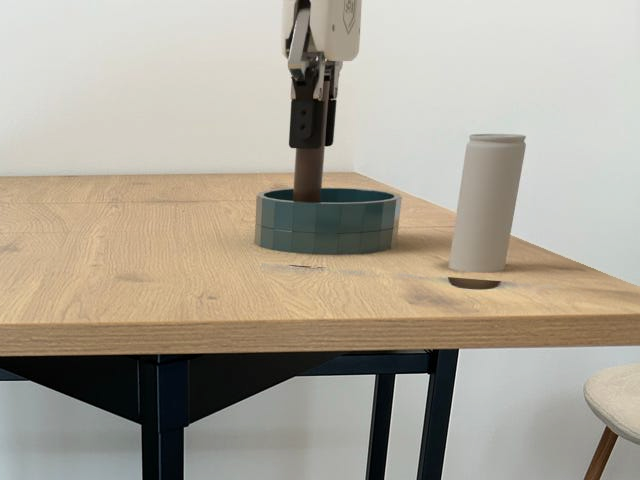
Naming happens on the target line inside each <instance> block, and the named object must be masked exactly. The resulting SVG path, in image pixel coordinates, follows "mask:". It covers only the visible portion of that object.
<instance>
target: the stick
mask: <svg viewBox="0 0 640 480" xmlns="http://www.w3.org/2000/svg"><path fill="white" fill-rule="evenodd" d="M329 83H330V82H329V81H323V92H322V98H321V100H320V101H325V112H324V125H323V139H322V146H321V147H320V148H318V149H302V148H295V158H294V159H295V160H294V176H293V188H294V190H293V201H297V202H317V203H321V191H322V188H323V175H324V161H325V160H324V159H325V149H326V146H325V137H326V124H327V110H328V97H329Z"/></svg>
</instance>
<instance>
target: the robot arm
mask: <svg viewBox="0 0 640 480" xmlns="http://www.w3.org/2000/svg"><path fill="white" fill-rule="evenodd" d="M362 2H363V0H282V7H281V8H282V9H281V30H280V47H281V53H282V55H283V56H284V57H285V59H286V60H287V69H288V71H289V73H290V76H291V77H290V79H291V85H290V100H291V101H290V114H289V115H290V116H289V135H288V146H289V148H290V149H296V148H302V149H318V148H320V147H321V146H322V139H323V125H324V112H325V101H320V100H321V98H322V92H323V81H329V82H330V83H329V97H328V110H327V124H326V137H325V147H332V145H334V138H335V125H336V113H337V100H338V99H337V98H338V96H339V95H338V94H339V80H340V72H341V71H342V69H343V65H344V64H343V63H344V62H352V61H354V60H355V59H356V58H357V57H358V55H359V53H360V41H361V26H362V25H361V23H362V22H361V21H362V5H363V3H362Z"/></svg>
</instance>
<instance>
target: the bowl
mask: <svg viewBox="0 0 640 480" xmlns="http://www.w3.org/2000/svg"><path fill="white" fill-rule="evenodd" d="M293 190H294V187H292V188H291V187H290V188H289V187H288V188H278V189H269V190H268V189H267V190H264V191H261V192H258V193H257V195H256V201H255V202H256V203H255V220H254V221H255V224H254V245H256V246H258V247H259V248H262V249H266V250H270V251H275V252H283V253H290V254H301V255H320V256H321V255H323V256H325V255H327V256H328V255H332V256H333V255H334V256H342V255H345V256H346V255H364V254H373V253H380V252H381V253H382V252H384V251H389V250H392V249H394V248H395V247H397V243H398V234H399V225H400V216H401V208H402V200H403V196H402V195H401V194H399V193H395V192H392V191H386V190H380V189H369V188H358V187H357V188H356V187H322V191H321V203H317V202H297V201H293ZM289 266H291V267H300V268H310V267H311V266H307V265H297V264H289ZM316 267H317V268H316V269H324V267H320V266H316Z"/></svg>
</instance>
